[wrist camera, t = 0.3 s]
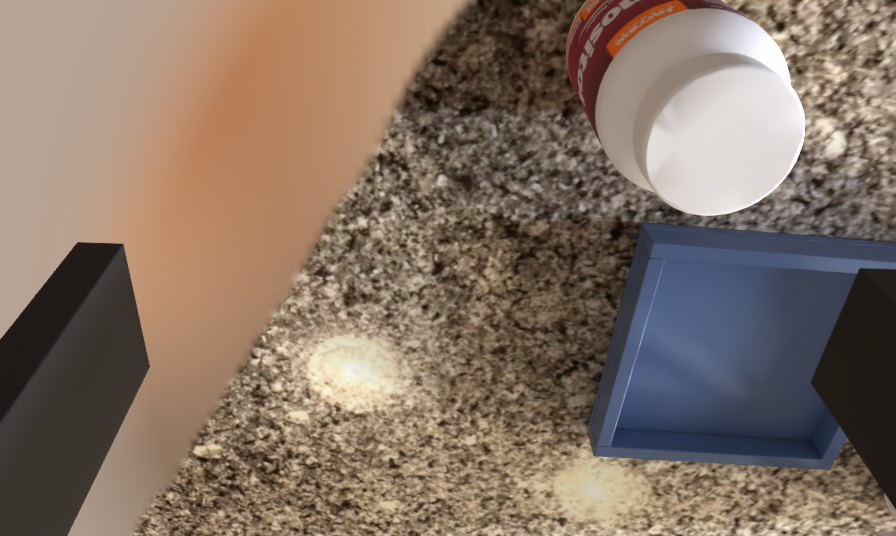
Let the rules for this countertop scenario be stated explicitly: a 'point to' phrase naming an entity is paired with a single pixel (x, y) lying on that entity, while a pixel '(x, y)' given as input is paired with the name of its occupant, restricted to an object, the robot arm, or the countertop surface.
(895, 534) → the mug
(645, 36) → the pill bottle
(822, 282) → the blue tray
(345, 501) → the countertop surface
